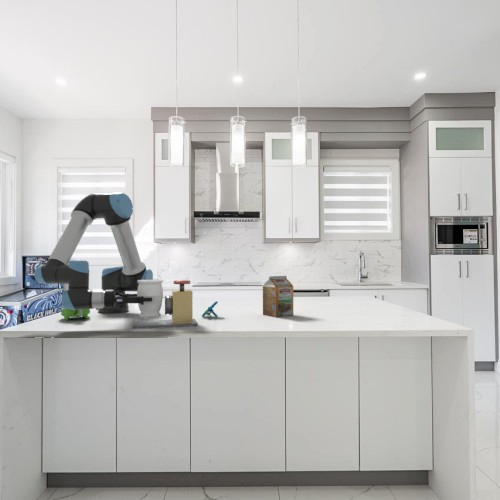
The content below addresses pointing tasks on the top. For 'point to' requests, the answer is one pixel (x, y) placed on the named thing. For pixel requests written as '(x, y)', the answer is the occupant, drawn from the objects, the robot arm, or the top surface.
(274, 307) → the milk carton
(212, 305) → the teal toy telescope
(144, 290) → the jar
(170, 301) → the valve fitting
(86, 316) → the turtle holder
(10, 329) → the top surface
